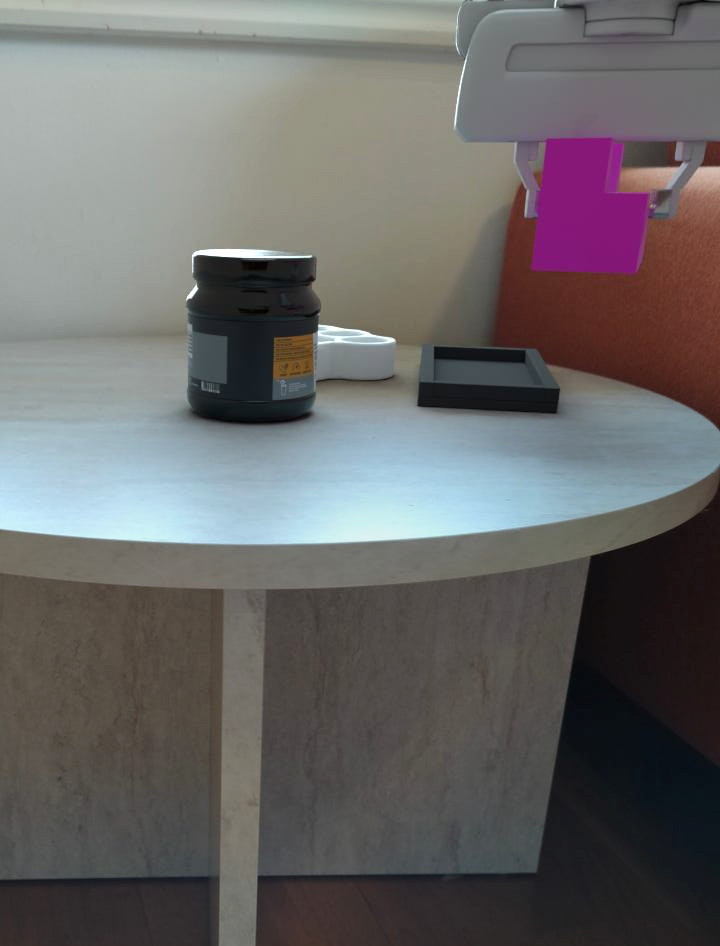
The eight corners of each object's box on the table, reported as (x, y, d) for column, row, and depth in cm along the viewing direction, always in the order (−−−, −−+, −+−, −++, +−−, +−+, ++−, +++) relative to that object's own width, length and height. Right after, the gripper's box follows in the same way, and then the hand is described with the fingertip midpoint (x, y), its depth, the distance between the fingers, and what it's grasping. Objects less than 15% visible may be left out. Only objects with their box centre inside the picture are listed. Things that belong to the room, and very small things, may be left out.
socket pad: (534, 369, 103) (537, 348, 102) (556, 413, 84) (560, 388, 83) (420, 363, 105) (422, 343, 104) (417, 405, 86) (419, 381, 85)
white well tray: (190, 363, 103) (290, 349, 112) (322, 390, 91) (422, 372, 100) (190, 328, 101) (292, 317, 111) (324, 351, 90) (426, 337, 99)
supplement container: (342, 412, 83) (351, 255, 78) (251, 431, 76) (255, 260, 71) (251, 392, 90) (254, 246, 85) (159, 408, 83) (157, 251, 78)
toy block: (635, 273, 62) (656, 137, 59) (531, 270, 64) (546, 138, 61) (644, 256, 75) (661, 143, 72) (556, 254, 77) (570, 144, 74)
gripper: (461, -29, 62) (442, 218, 67) (824, -39, 58) (771, 221, 64) (459, -12, 67) (441, 215, 73) (789, -20, 64) (744, 217, 70)
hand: (598, 218), depth 69 cm, fingers closed on toy block, 7 cm apart
